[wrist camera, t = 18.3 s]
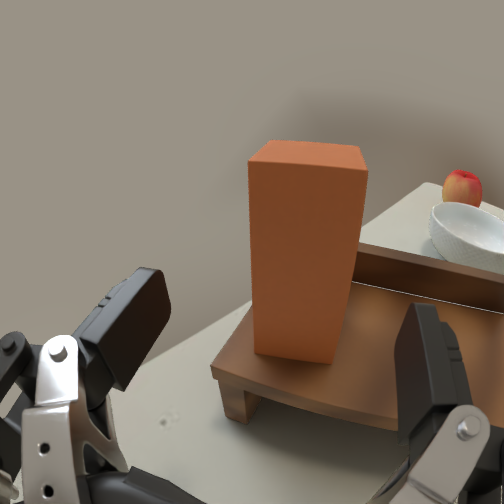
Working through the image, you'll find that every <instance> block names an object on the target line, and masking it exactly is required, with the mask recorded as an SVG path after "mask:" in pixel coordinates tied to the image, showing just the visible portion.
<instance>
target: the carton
mask: <svg viewBox="0 0 504 504" xmlns="http://www.w3.org/2000/svg"><path fill="white" fill-rule="evenodd" d="M367 179H368V169H367V166H366V164H365V161H364V159H363V156H362V154H361V151H360V149H359V147H358V146H349V145H339V144H329V143H316V142H303V141H285V140H270V141H269V142H268V143H267V144H266V145H265V146H264V147H263V148H261V149H260V150H259V151H258V152H257V153H256V154H255V155H254V156H253V157H252V158H251V159H250V160H248V188H249V216H250V217H249V218H250V248H251V277H252V307H253V336H254V353H256V354H262V355H268V356H274V357H280V358H287V359H294V360H301V361H308V362H316V363H324V364H332V363H333V359H334V356H335V352H336V348H337V344H338V340H339V336H340V332H341V328H342V324H343V319H344V315H345V310H346V306H347V301H348V297H349V292H350V287H351V282H352V277H353V272H354V266H355V261H356V255H357V250H358V244H359V238H360V231H361V225H362V218H363V211H364V204H365V195H366V188H367V187H366V186H367Z"/></svg>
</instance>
